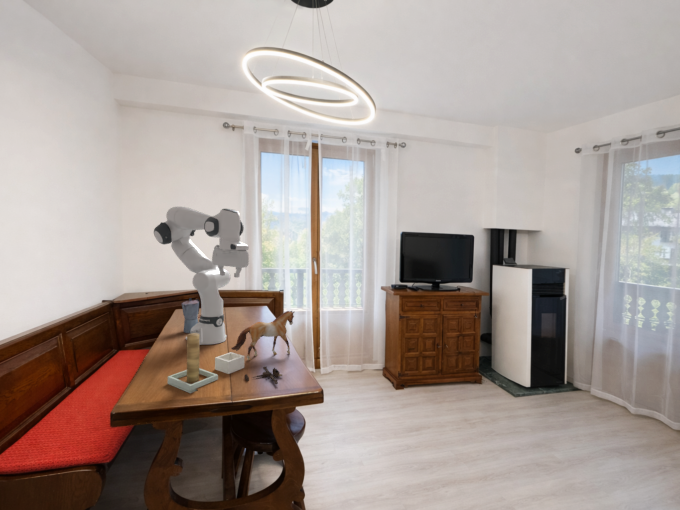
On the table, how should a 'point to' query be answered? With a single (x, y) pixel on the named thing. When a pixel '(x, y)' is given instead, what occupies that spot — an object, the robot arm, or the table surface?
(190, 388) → the tray
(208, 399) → the table surface
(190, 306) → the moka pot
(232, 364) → the white square box
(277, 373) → the bear figurine
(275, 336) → the horse figurine
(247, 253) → the robot arm
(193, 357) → the dowel
